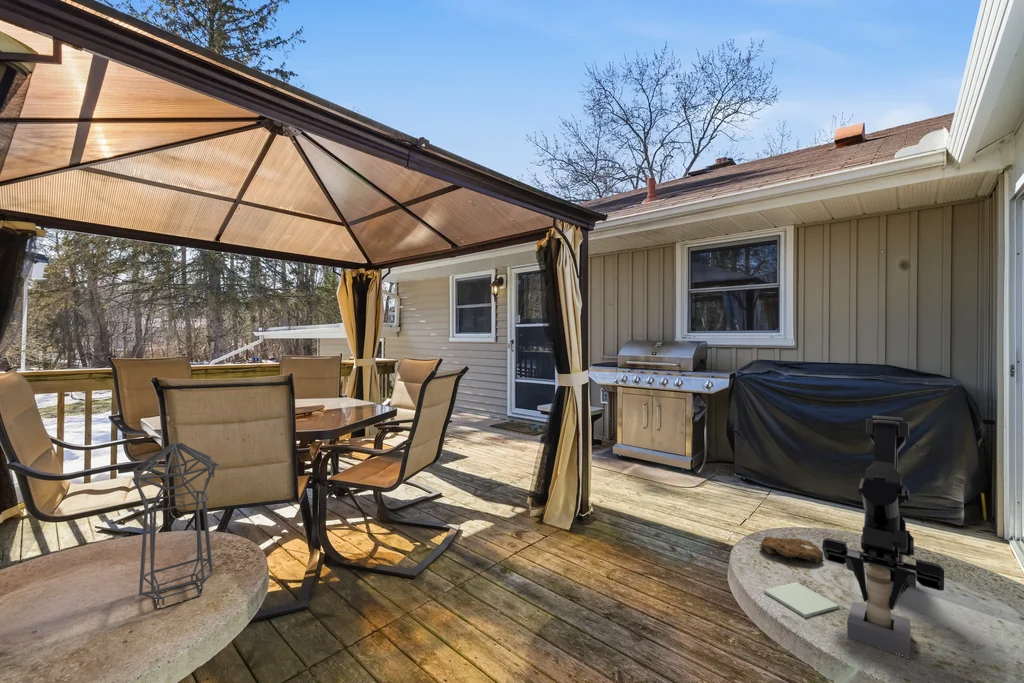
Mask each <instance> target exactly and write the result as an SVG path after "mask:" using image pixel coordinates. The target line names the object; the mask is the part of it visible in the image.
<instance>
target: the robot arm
mask: <svg viewBox="0 0 1024 683" xmlns="http://www.w3.org/2000/svg"><path fill="white" fill-rule="evenodd" d="M865 419H866V420H865V423H866V424H865V427H866V428H865V429H866V430H865V433H866V434H869V438H870V440H871V442H872V443H873V452H872V454H873V455H872V456H873V457H872V464H871V465H870V466H868V467H867V468H866V469H865V473H864V478H861V479H860V482H859V486H858V494H859V496H861V497H862V503H863V509H864V524H863V527H862V534H861V539H860V548H861V550H862V551H861V550H858V549H854V548H849V547H848V545H847V542H846V541H842V540H838V539H834V538H830V537H826V538H824V539H823V540H822V544H821V547H822V553H823V558H824V559H825V560H826V561H827V562H832V563H835V564H839V565H845V567H846V569H847V570H849V571H851V572H853V574H854V576H855V579H856V581H857V583H858V585H859V589H860V592H861V595H862V600H863V602H865V603H867V578H866V571H865V570H866V569H865V566H864V564H866V565H870V564H872V565H878V566H882V567H884V568H886V569H888V570H889V571H890V577H891V582H892V588H891V591H890V593H891V597H890V610H891V611H894V609H895V607H896V606H897V604H898V602H899V601H900V598H901V597H902V596H903V594H904V593H905V592H906V591H907V589H909V588H916V587H917V582H918V584H920V586H922V587H925V588H929V589H932V590H936V591H939V592H940V591H943V592H944V591H945V568H944V567H943V566H942V565H941V564H939V563H936V562H930V561H926V560H922V559H917V558H916V559H915V564H913V563H912V564H911V563H907V562H904V556H906V557H909V558H911V556H915V544H914V543H915V542H914V541H915V540H914V539H915V538H914V537H913V536H912V534H911V532H910V531H911V530H907V524H906V523H907V522H905V520H904V518H903V517H902V515H901V513H900V509H899V508H900V507H899V506H901V505H902V503H903V504H906V503H907V502H909V501H910V491H909V490H908V487H906V485H904V484H902V483H903V482H902V474H901V473H900V472H899V470H898V469H899V468H898V467H899V466H898V462H899V461H898V460H899V458H898V455H899V452H900V451H901V449H903V447H904V446H906V444H907V443H906V440H907V439H906V438H909V437H910V422H906V421H905V420H903V419H904V418H903V417H897V416H885V415H874V414H873V415H872V417H871V418H865ZM906 501H907V502H906Z"/></svg>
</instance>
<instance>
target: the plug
mask: <svg viewBox="0 0 1024 683" xmlns="http://www.w3.org/2000/svg"><path fill="white" fill-rule="evenodd" d="M865 570H866V571H865V579H866V589H867V602H866V606H867V622H869V623H872V624H875V625H878V626H881V627H884V628H887V629H890V630H891V614H892V610H890V597H891V582H892V581H891V577H890V571H889V570H888V569H886V568H884V567H882V566H878V565H872V564H866V567H865Z"/></svg>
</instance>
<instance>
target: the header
mask: <svg viewBox="0 0 1024 683" xmlns="http://www.w3.org/2000/svg"><path fill="white" fill-rule="evenodd" d="M846 622H847V623H846V624H847V626H846V632H847V634H846V635H847V636H846V637H848V638H850V639H852V640H856V641H858V642H861V643H864V642H865V643H864V644H867V645H869V644H870V646H872V647H874V648H878V649H881V650H884V651H886V652H890V653H892V652H893V654H895V653H897V654H900V655H903V656H905V657H904V658H906V657H909V658H910V656H909V654H910V652H911V619H910V618H908V617H904V616H900V615H898V614H894V613H891V630H890V629H887V628H884V627H881V626H878V625H875V624H872V623H869V622H867V605H866V604H862V603H860V602H856V601H852V603H851V606H850V609H849V613H848V617H847V621H846ZM897 654H896V655H897ZM900 655H899V656H900ZM903 656H902V657H903Z"/></svg>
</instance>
